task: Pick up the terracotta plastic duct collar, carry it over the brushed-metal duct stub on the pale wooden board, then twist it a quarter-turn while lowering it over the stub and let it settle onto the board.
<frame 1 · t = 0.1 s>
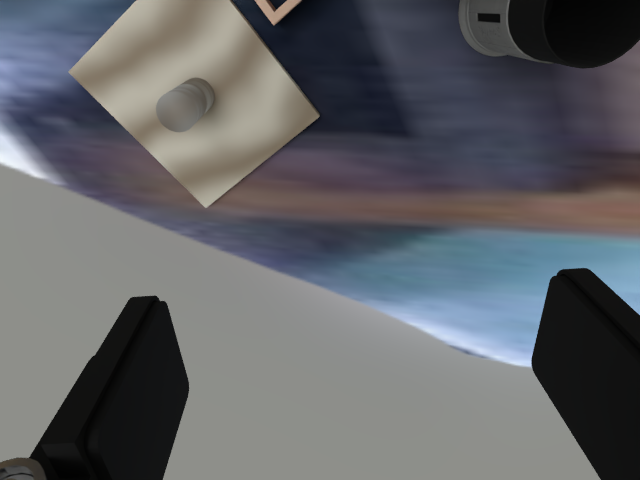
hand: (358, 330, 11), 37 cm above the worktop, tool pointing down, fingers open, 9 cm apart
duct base: (201, 92, 43), on the worktop
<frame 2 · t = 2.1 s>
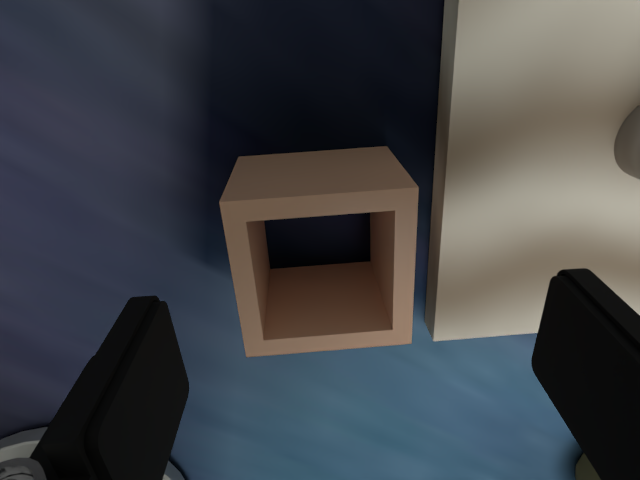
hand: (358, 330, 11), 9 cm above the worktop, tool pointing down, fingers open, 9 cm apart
duct collar: (317, 219, 19), on the worktop
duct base: (629, 128, 18), on the worktop
squeeze bottle: (617, 455, 27), on the worktop
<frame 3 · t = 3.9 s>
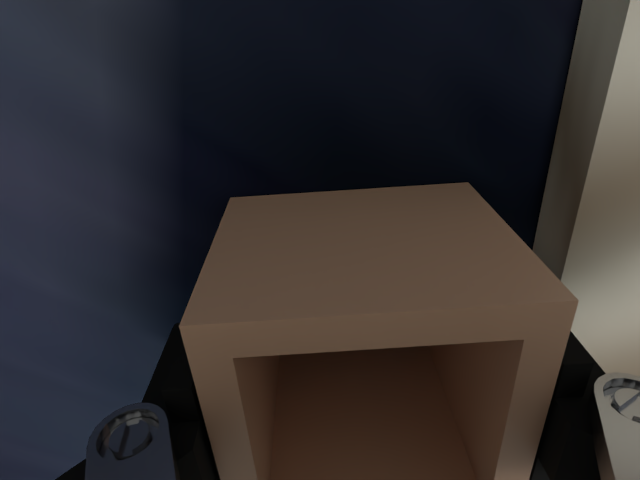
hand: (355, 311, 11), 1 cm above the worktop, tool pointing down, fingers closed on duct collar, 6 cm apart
duct collar: (351, 288, 12), on the worktop, touching gripper
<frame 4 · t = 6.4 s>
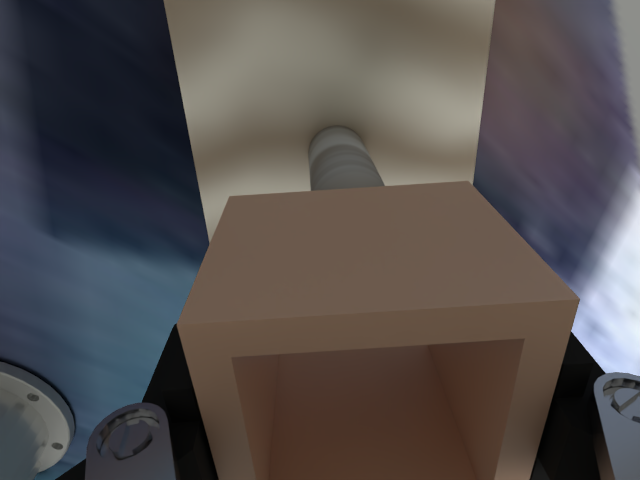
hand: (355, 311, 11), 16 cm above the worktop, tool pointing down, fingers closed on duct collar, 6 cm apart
duct collar: (351, 287, 12), point 15 cm above the worktop, touching gripper
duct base: (334, 146, 26), on the worktop
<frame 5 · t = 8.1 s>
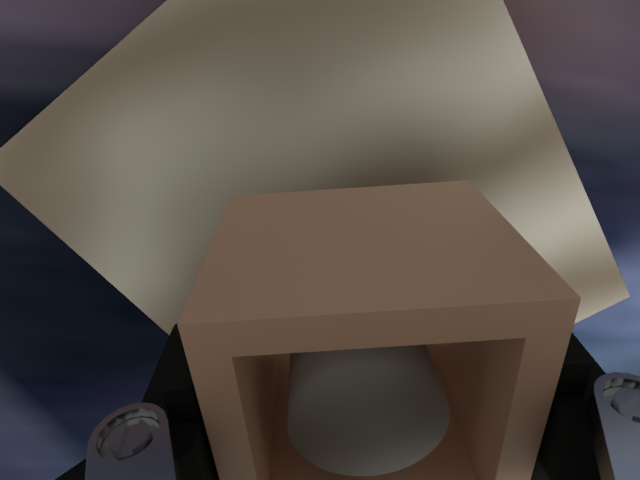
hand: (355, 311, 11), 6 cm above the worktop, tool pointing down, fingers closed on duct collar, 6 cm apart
duct collar: (352, 287, 12), point 5 cm above the worktop, touching gripper
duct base: (336, 220, 17), on the worktop
when the fingers open (4 cm above the worktop, at t = 9.4 s): duct collar drops 1 cm, resting on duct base.
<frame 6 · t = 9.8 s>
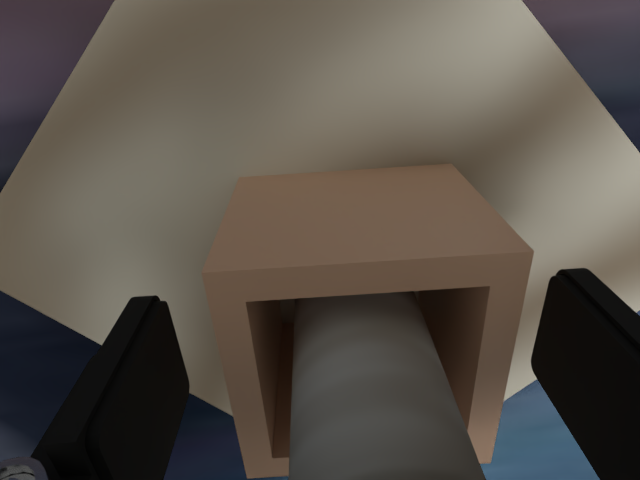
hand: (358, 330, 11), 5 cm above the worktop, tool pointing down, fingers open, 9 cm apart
duct collar: (348, 261, 14), point 1 cm above the worktop, touching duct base
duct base: (343, 239, 15), on the worktop
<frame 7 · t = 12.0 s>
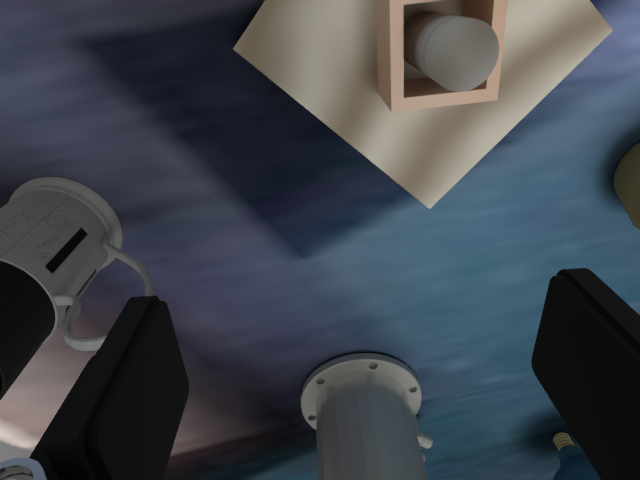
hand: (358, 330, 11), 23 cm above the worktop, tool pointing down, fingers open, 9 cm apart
glass holder: (101, 225, 35), on the worktop
duct collar: (424, 39, 27), point 1 cm above the worktop, touching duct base
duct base: (418, 37, 29), on the worktop
light bulb: (557, 432, 50), on the worktop
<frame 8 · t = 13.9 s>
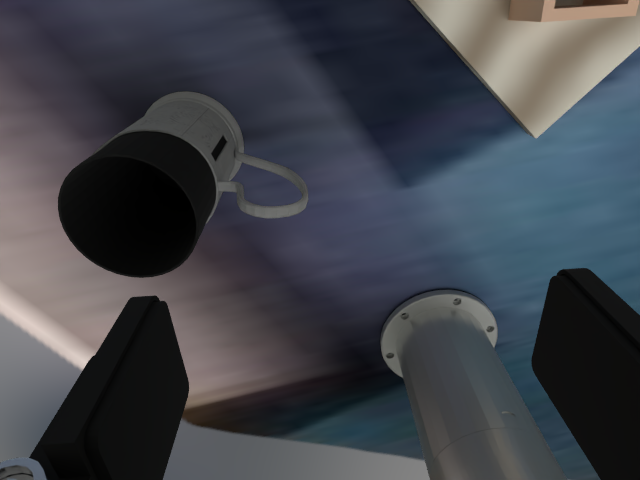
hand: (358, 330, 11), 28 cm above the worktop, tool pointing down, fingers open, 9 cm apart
glass holder: (225, 144, 37), on the worktop
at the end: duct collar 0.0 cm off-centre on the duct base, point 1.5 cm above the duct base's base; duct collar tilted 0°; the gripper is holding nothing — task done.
